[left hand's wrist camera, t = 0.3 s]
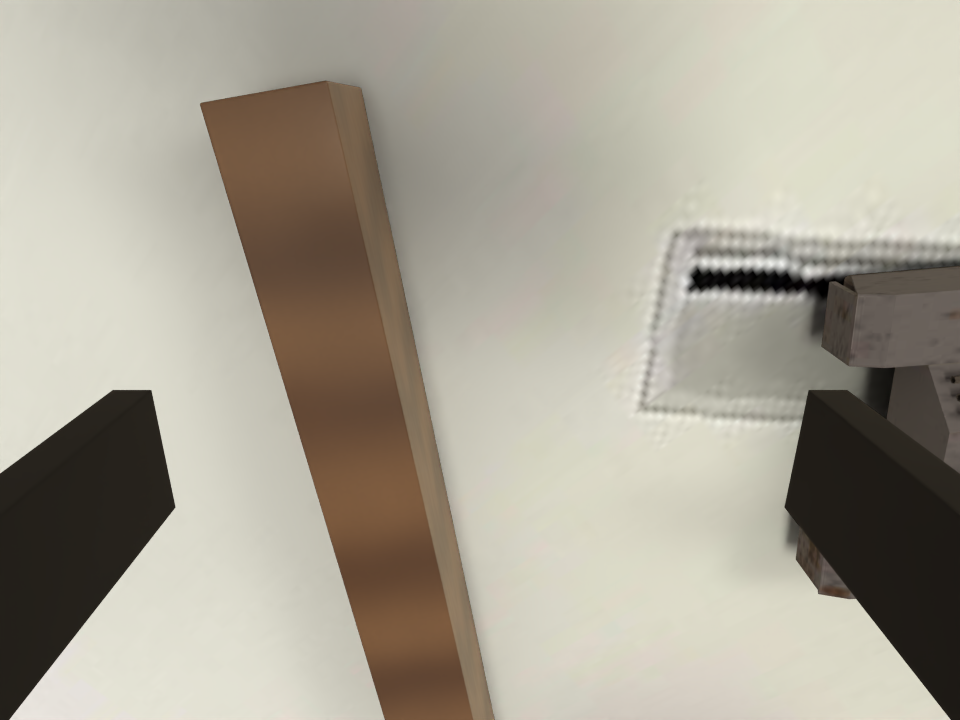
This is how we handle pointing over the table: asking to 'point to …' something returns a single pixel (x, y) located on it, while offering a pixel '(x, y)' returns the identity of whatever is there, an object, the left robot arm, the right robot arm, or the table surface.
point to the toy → (898, 365)
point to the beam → (354, 383)
